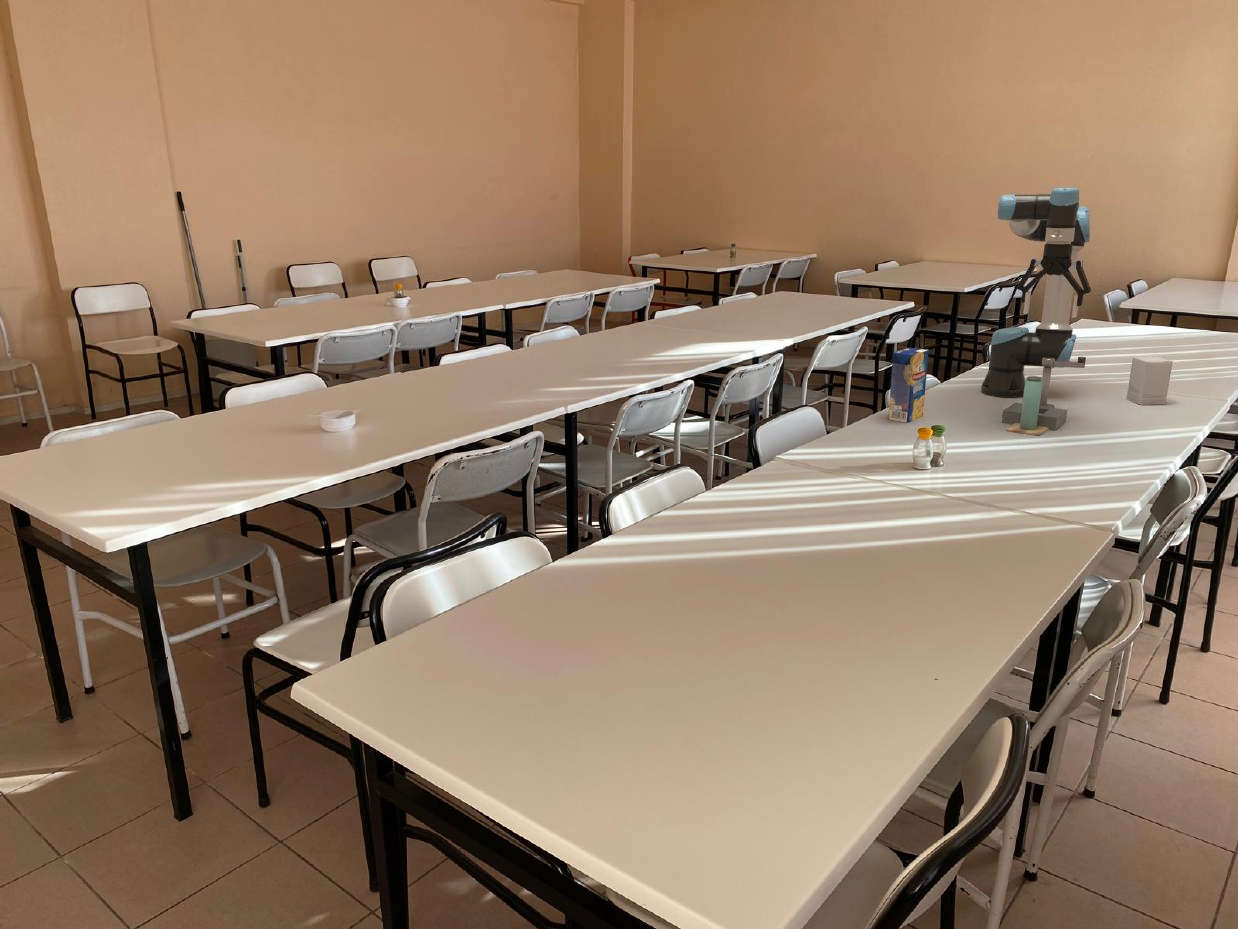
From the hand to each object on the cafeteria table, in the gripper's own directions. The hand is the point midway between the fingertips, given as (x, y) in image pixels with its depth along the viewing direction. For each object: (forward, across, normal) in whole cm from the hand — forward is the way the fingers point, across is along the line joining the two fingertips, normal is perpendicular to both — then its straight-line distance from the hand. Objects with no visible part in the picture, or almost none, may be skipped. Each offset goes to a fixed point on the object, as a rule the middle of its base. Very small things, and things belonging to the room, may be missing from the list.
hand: (1049, 315), depth 267 cm
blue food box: (+35, -37, -12) cm, 52 cm away
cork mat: (+35, -1, -5) cm, 35 cm away
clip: (+18, +2, +15) cm, 24 cm away
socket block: (+35, -2, +7) cm, 36 cm away
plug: (+34, -1, -5) cm, 34 cm away
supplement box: (+35, +21, +53) cm, 67 cm away
